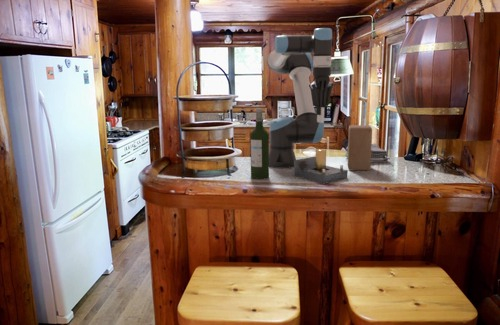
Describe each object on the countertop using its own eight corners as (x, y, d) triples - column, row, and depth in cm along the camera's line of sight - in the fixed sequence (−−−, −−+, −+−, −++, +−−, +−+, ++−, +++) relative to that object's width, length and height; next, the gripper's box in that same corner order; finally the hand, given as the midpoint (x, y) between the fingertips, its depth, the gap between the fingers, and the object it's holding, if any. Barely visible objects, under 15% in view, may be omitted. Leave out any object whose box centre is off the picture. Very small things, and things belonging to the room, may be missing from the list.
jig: (294, 175, 176) (294, 160, 174) (316, 171, 184) (316, 156, 182) (324, 183, 161) (325, 167, 160) (347, 178, 170) (347, 162, 168)
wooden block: (370, 171, 182) (372, 127, 178) (348, 170, 184) (349, 127, 180) (368, 166, 192) (370, 125, 188) (347, 165, 194) (348, 124, 190)
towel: (343, 158, 213) (344, 144, 211) (376, 157, 215) (377, 142, 213) (354, 164, 198) (355, 148, 197) (389, 162, 200) (390, 147, 199)
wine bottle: (270, 175, 177) (270, 107, 171) (266, 179, 170) (266, 109, 163) (253, 174, 179) (252, 107, 173) (249, 178, 171) (247, 109, 165)
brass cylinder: (313, 176, 173) (313, 149, 171) (320, 175, 176) (320, 148, 173) (320, 178, 170) (321, 151, 167) (327, 177, 172) (328, 149, 170)
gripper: (317, 66, 161) (316, 124, 167) (339, 66, 169) (337, 121, 174) (304, 66, 167) (303, 122, 173) (326, 66, 175) (324, 120, 180)
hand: (320, 122), depth 174 cm, fingers closed
